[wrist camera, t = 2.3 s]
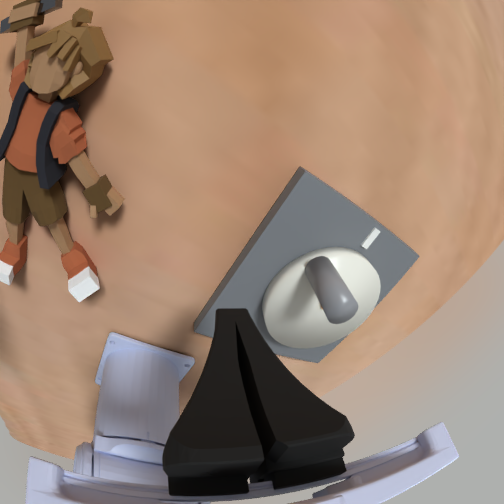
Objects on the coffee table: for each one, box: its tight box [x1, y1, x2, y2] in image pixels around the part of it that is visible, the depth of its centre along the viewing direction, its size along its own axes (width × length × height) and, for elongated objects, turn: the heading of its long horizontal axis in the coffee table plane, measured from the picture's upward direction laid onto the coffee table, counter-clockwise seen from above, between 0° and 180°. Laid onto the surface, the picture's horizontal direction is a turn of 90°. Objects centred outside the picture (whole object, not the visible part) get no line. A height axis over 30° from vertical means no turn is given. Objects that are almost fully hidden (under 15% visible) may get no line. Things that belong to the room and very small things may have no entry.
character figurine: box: [0, 0, 125, 302], centre depth 11 cm, size 10×18×4 cm, turn 162°
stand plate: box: [194, 167, 419, 363], centre depth 21 cm, size 14×13×1 cm
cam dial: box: [262, 247, 381, 348], centre depth 18 cm, size 9×9×5 cm
